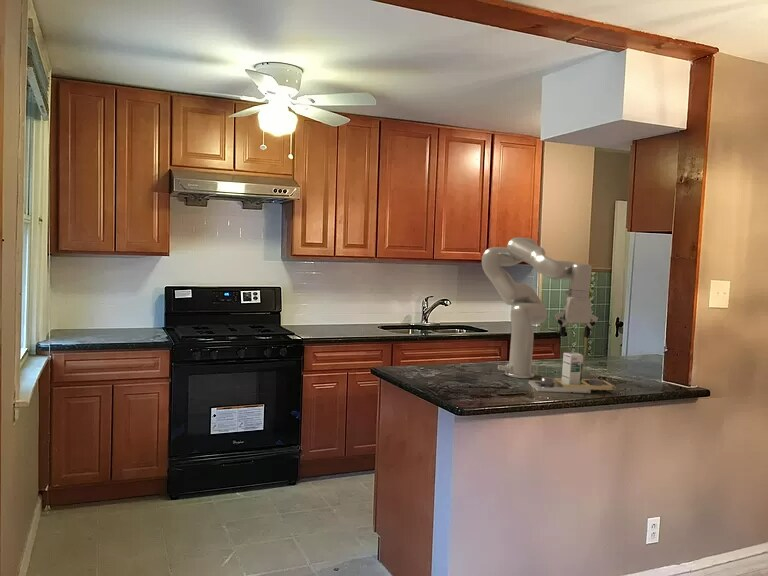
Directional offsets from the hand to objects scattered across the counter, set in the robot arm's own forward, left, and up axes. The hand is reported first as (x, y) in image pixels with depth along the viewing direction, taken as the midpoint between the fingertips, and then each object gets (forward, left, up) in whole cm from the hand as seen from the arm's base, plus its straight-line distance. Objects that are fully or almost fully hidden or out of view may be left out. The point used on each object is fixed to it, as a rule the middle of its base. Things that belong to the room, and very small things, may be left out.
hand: (574, 336), depth 247 cm
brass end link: (+5, 0, -21) cm, 22 cm away
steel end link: (-5, 0, -21) cm, 22 cm away
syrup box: (0, 0, -21) cm, 21 cm away
